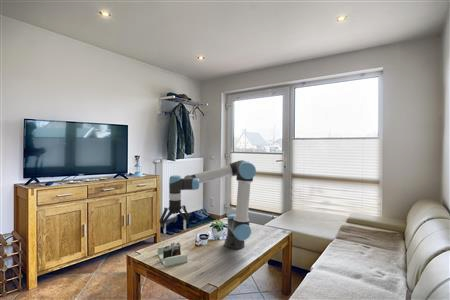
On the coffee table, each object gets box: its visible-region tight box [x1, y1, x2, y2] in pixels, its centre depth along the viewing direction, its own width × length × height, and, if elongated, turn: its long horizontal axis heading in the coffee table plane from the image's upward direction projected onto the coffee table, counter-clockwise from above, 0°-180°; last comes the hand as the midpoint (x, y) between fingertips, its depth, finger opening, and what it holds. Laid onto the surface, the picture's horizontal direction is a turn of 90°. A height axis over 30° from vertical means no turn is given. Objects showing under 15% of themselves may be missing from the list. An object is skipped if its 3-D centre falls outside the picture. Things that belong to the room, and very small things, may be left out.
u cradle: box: [157, 244, 188, 268], centre depth 157 cm, size 14×18×5 cm
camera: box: [163, 242, 182, 259], centre depth 158 cm, size 13×8×9 cm, turn 140°
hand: (174, 231), depth 158 cm, fingers open, 13 cm apart
